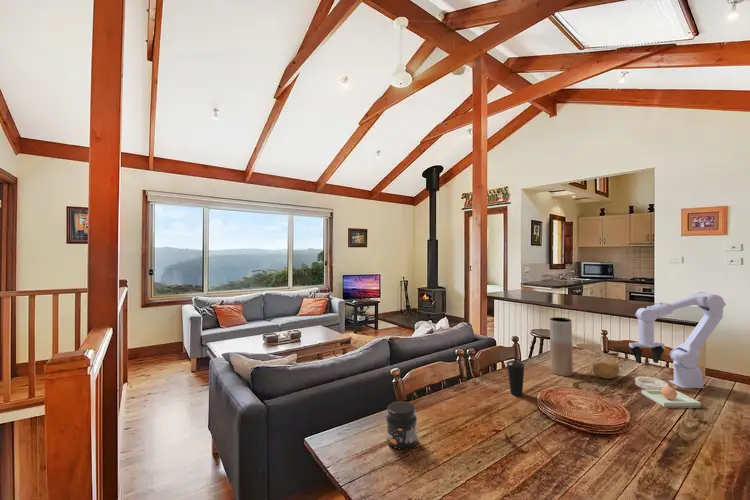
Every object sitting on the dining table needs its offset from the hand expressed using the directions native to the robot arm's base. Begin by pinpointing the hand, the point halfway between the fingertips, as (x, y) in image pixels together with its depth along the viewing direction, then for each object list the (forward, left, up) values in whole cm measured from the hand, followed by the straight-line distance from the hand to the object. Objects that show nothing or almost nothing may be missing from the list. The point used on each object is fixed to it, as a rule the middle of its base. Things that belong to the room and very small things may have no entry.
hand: (647, 362), depth 156 cm
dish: (+2, +5, -9) cm, 11 cm away
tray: (+5, +19, -9) cm, 22 cm away
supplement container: (+117, +50, -10) cm, 128 cm away
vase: (+33, -13, -10) cm, 37 cm away
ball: (+5, +19, -9) cm, 21 cm away
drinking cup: (+65, +12, -10) cm, 67 cm away
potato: (+15, -6, -10) cm, 19 cm away
